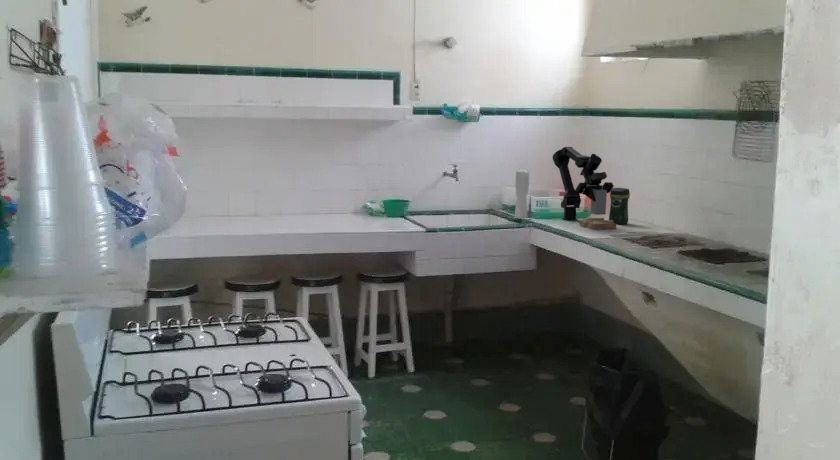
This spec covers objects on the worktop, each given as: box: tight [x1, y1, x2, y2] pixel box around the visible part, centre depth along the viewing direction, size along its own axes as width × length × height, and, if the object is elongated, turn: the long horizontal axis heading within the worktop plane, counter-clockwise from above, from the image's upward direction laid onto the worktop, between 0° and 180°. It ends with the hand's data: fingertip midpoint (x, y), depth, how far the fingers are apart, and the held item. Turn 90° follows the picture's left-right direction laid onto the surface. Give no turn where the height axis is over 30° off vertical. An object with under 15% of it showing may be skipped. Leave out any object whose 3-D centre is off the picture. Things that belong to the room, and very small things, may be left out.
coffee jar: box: [608, 187, 631, 225], centre depth 396 cm, size 10×8×19 cm
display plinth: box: [579, 217, 617, 231], centre depth 381 cm, size 14×12×4 cm
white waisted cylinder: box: [513, 166, 532, 220], centre depth 403 cm, size 8×8×28 cm
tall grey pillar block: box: [590, 189, 608, 216], centre depth 379 cm, size 5×6×12 cm
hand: (600, 201), depth 378 cm, fingers closed on tall grey pillar block, 5 cm apart
